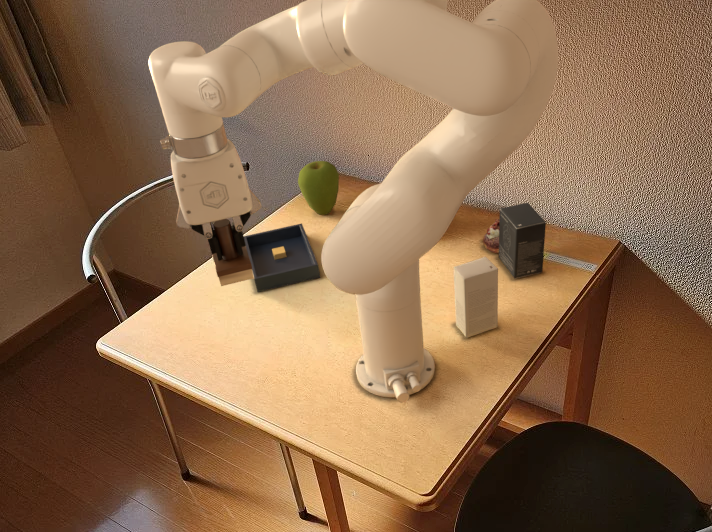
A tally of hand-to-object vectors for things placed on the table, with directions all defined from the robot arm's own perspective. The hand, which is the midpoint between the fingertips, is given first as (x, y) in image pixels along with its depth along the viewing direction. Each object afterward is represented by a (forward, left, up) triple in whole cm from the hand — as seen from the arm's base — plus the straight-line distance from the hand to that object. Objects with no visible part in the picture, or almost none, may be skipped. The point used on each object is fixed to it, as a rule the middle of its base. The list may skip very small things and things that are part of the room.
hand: (229, 252), depth 114 cm
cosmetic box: (-9, -37, -19) cm, 43 cm away
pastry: (+13, -51, -19) cm, 56 cm away
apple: (+40, -21, -19) cm, 49 cm away
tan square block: (+26, -9, -18) cm, 33 cm away
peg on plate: (0, 0, -3) cm, 3 cm away
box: (+5, -51, -19) cm, 55 cm away
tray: (+24, -9, -19) cm, 32 cm away
